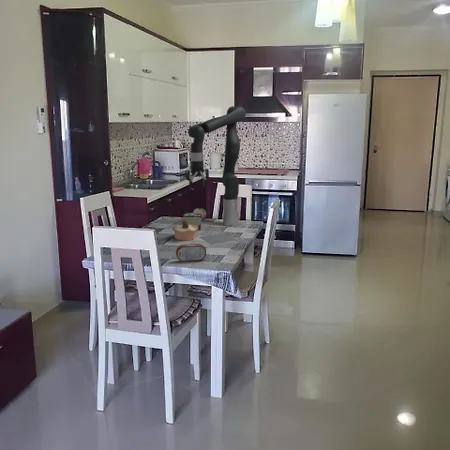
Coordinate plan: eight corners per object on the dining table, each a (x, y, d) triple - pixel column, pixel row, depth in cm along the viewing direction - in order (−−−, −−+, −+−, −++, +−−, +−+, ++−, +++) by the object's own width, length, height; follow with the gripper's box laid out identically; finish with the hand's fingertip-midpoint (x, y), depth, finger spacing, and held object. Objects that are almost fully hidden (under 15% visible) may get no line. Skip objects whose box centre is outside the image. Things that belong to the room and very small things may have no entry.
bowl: (191, 235, 279) (190, 225, 277) (198, 239, 269) (198, 229, 267) (172, 237, 274) (172, 227, 272) (180, 242, 263) (179, 232, 262)
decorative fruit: (208, 220, 314) (208, 206, 312) (202, 223, 307) (202, 208, 305) (197, 219, 319) (197, 205, 317) (190, 221, 312) (190, 207, 310)
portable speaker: (206, 259, 233) (205, 243, 231) (206, 261, 230) (206, 244, 228) (176, 260, 231) (175, 244, 229) (176, 262, 228) (176, 246, 226)
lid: (192, 224, 279) (192, 217, 278) (202, 230, 266) (202, 222, 265) (168, 227, 273) (168, 219, 272) (178, 233, 260) (178, 225, 259)
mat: (224, 234, 280) (224, 233, 280) (237, 241, 265) (237, 240, 265) (198, 237, 273) (198, 236, 272) (211, 244, 258) (211, 244, 258)
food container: (204, 228, 295) (204, 212, 292) (202, 230, 289) (202, 215, 286) (185, 227, 296) (184, 212, 294) (183, 230, 290) (183, 214, 288)
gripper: (205, 158, 284) (205, 184, 288) (183, 160, 278) (184, 186, 282) (210, 159, 278) (211, 186, 282) (188, 161, 271) (189, 188, 275)
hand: (197, 186), depth 282 cm, fingers open, 8 cm apart
